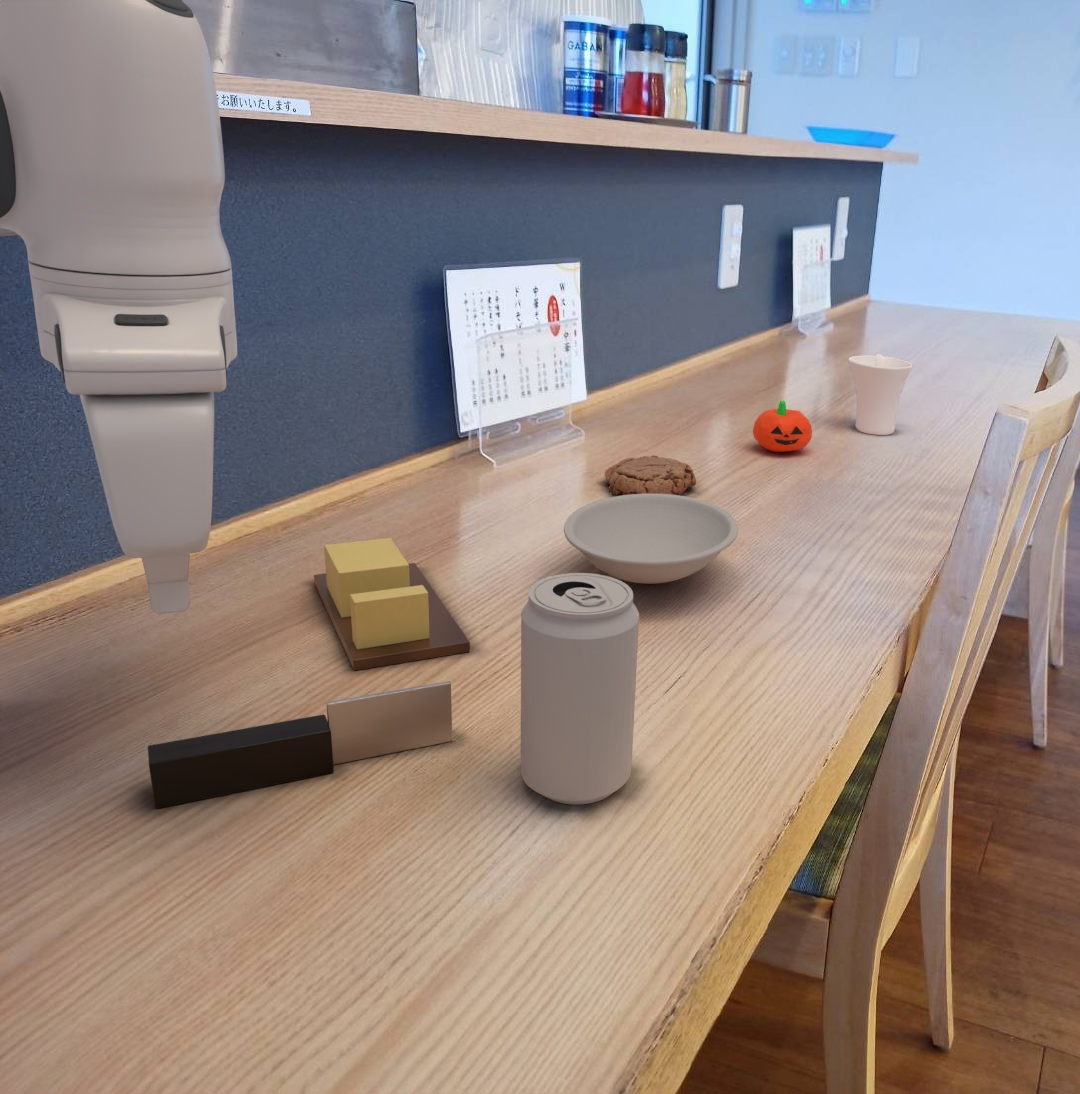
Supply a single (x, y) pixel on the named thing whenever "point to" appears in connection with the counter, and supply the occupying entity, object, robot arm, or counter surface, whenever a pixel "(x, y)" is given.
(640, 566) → the dish
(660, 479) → the cookie
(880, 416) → the cup
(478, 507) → the counter surface
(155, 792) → the knife
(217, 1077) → the counter surface
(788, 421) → the pumpkin
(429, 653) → the butter board
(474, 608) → the counter surface
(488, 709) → the counter surface
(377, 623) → the butter slice
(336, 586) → the butter
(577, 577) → the beverage can
